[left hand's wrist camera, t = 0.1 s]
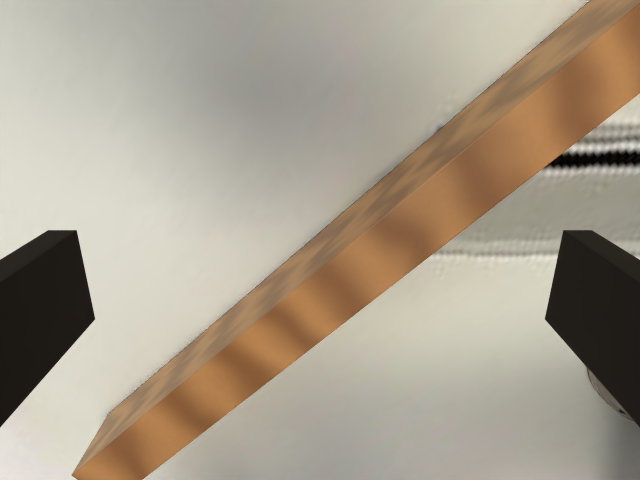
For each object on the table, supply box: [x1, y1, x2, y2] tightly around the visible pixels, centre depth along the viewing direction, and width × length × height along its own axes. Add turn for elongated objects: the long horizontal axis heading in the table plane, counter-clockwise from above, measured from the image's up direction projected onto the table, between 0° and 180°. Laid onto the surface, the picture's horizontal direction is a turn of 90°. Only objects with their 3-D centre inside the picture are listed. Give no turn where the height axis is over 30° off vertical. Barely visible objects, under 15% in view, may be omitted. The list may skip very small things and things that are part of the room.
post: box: [72, 0, 640, 480], centre depth 39 cm, size 64×5×8 cm, turn 132°
